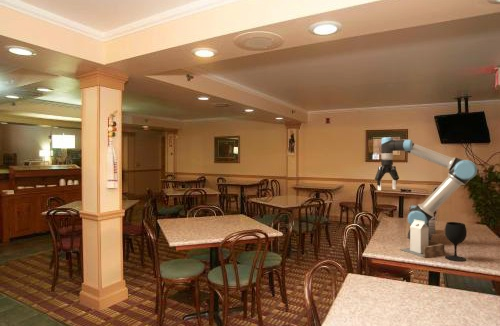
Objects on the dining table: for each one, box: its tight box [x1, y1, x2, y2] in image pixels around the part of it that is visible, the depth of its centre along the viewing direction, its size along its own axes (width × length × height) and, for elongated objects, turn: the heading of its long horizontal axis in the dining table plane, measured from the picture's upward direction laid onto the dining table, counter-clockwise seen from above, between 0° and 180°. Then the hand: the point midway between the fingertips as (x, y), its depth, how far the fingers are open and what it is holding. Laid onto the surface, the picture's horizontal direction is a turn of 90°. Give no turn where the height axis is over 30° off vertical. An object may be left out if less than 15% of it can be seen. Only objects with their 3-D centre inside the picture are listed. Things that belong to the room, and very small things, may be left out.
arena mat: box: [399, 247, 424, 258], centre depth 198 cm, size 15×16×1 cm
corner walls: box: [422, 240, 445, 259], centre depth 198 cm, size 16×19×6 cm
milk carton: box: [409, 219, 428, 253], centre depth 198 cm, size 7×7×19 cm
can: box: [429, 216, 436, 235], centre depth 247 cm, size 11×11×12 cm
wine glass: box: [444, 221, 467, 263], centre depth 184 cm, size 10×10×20 cm
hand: (387, 189), depth 228 cm, fingers open, 13 cm apart
